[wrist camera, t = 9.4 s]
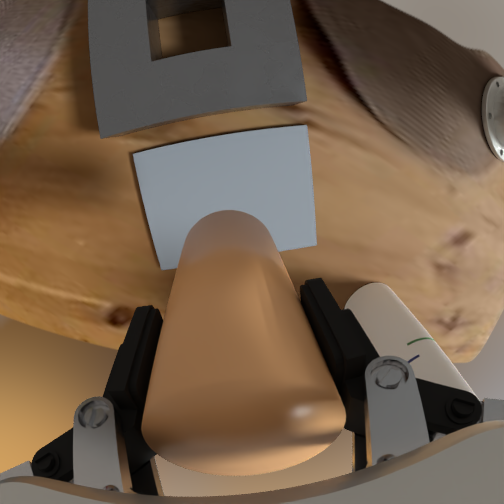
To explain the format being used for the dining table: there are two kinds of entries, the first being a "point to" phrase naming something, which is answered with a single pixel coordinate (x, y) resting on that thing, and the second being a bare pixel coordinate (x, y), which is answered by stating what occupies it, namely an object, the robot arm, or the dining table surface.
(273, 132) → the mat
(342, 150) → the dining table surface
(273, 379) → the orange rounded cylinder
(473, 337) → the dining table surface
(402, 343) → the cylindrical container
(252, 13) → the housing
